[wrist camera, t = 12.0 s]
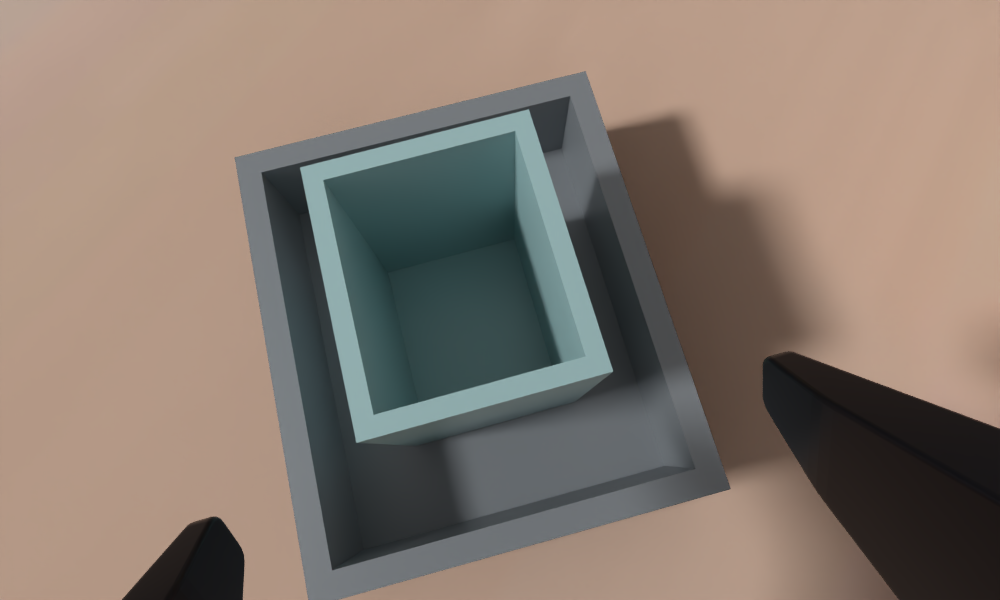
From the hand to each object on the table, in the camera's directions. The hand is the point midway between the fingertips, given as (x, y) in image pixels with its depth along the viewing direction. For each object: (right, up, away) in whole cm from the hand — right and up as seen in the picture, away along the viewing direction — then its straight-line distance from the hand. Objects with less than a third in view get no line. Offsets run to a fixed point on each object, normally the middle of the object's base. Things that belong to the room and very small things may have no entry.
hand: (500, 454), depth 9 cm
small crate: (-1, +1, +13) cm, 13 cm away
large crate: (-1, +1, +14) cm, 14 cm away
